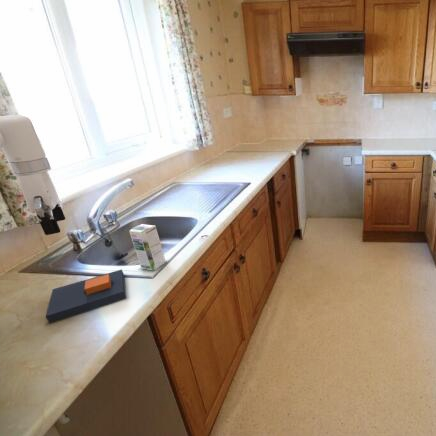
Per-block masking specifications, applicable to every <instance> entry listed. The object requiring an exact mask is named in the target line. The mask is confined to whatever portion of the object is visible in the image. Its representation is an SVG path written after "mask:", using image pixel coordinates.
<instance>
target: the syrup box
mask: <svg viewBox="0 0 436 436" xmlns="http://www.w3.org/2000/svg"><path fill="white" fill-rule="evenodd" d="M128 232H129V236H130V239H131V241H132V244H133V247H134V251H135V253H136V256H137V260H138V262H139V266H140V269H141V270H149V271H156V270H158V269H159V268H160V267H161V266H163V265H164V264H165V263H166V262H167V261H166V257H165V254H164V251H163V247H162V243H161V240H160V236H159V233H158V230H157V226H156V225H155V224H154V225H153V224H145V223H141V224H139V225H136V226H135V227H132V228H131V229H130V230H129V231H128Z"/></svg>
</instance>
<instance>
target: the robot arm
mask: <svg viewBox="0 0 436 436" xmlns="http://www.w3.org/2000/svg"><path fill="white" fill-rule="evenodd" d="M0 150H1V151H2V153H3V156H4V158H5V160H6V162H7V164H8V167H9V168H10V171H11V173H12V175H13V177H17V181H18V183H19V187H20V190H21V193H22V196H23V198H24V200H25V203H26V206H27V208H28V211H29V213H31V214H36V218H37V219H38V222H39V224H40V227H41V229H42V231H43V233H44V235H45V236H49V235H50V236H51V235H54V234H60V232H61V228H60V226H59V224H58V222H61V221H65V220H66V216H65V214H64V211H63V209H62V207H61V204H60V202H59V195H58V193H57V190H56V187H55V185H54V183H53V180H52V178H51V175H50V173H49V171H51V170H52V166H51V164H50V162H49V159H48V157H47V154H46V152H45V149H44V147H43V144H42V142H41V140H40V137H39V134H38V131H37V129H36V126H35V123H34V122H33V120H32V118H30V117H29V116H28V115H25V114H7V115H0Z"/></svg>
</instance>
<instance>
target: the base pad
mask: <svg viewBox="0 0 436 436" xmlns="http://www.w3.org/2000/svg"><path fill="white" fill-rule="evenodd" d="M123 271H124V270H123V269H122V268H121V269H118V270H115V271H111V272H108V273H104V274H101V275H98V276H94V277H91V278H87V279H84V280H83V279H82V280H80V281H77V282H74V283H70V284H66V285H63V286H59V287H56V288H53V289H52V290H51V294H50V298H49V302H48V306H47V308H46V309H47V310H46V313H45V318H46V320H47V322H48V323H49V324H53V323H55V322H59V321H61V320H64V319H67V318H70V317H73V316H76V315H79V314H83V313H86V312H88V311H91V310H95V309H98V308H100V307H104V306H107V305H110V304H113V303H116V302H120V301H122V300H126V299H127V293H126V281H125V274H124V272H123ZM107 274H109V276H110V278H111V288H108V289H104V290H101V291H98V292H95V293H91V294H88V295H87V294H86V292H85V290H84V289H85V281H87V280H90V279H93V278H97V277H100V276H104V275H107Z"/></svg>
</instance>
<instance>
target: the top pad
mask: <svg viewBox="0 0 436 436" xmlns="http://www.w3.org/2000/svg"><path fill="white" fill-rule="evenodd" d="M106 274H107V275H104V274H103V275H104V276H101V275H99V276H100V277H97V276H96V277H97V278H94V277H92V278H93V279H90V278H89V279H90V280H87V279H86V280H87V281H85V289H84V290H85V292H86V294H87V295H88V294H91V293H95V292H98V291H101V290H104V289H108V288H111V278H110V276H109V274H108V273H106Z"/></svg>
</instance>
